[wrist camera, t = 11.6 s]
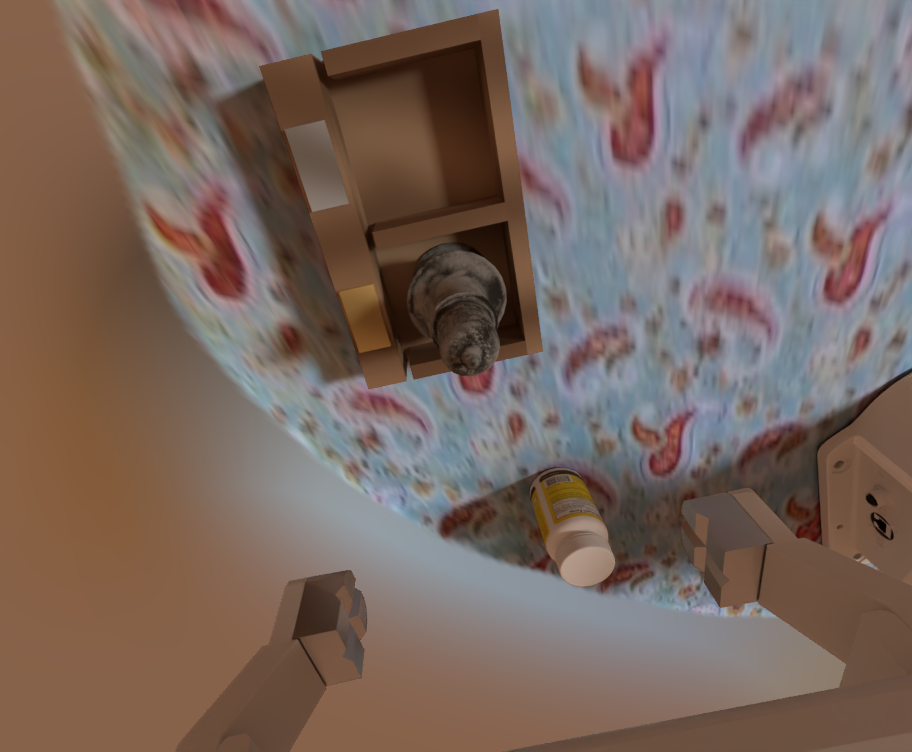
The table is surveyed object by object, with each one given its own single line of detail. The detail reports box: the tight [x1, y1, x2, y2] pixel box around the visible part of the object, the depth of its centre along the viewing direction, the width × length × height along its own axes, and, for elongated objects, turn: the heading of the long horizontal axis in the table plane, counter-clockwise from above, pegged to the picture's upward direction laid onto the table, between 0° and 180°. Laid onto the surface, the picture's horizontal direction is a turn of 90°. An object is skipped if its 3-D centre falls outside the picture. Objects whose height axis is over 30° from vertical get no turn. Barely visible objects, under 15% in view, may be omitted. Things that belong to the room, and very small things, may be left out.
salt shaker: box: [407, 242, 507, 376], centre depth 26 cm, size 6×6×12 cm
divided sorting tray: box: [259, 9, 543, 389], centre depth 28 cm, size 18×12×4 cm, turn 12°
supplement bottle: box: [529, 468, 615, 587], centre depth 37 cm, size 5×5×8 cm
